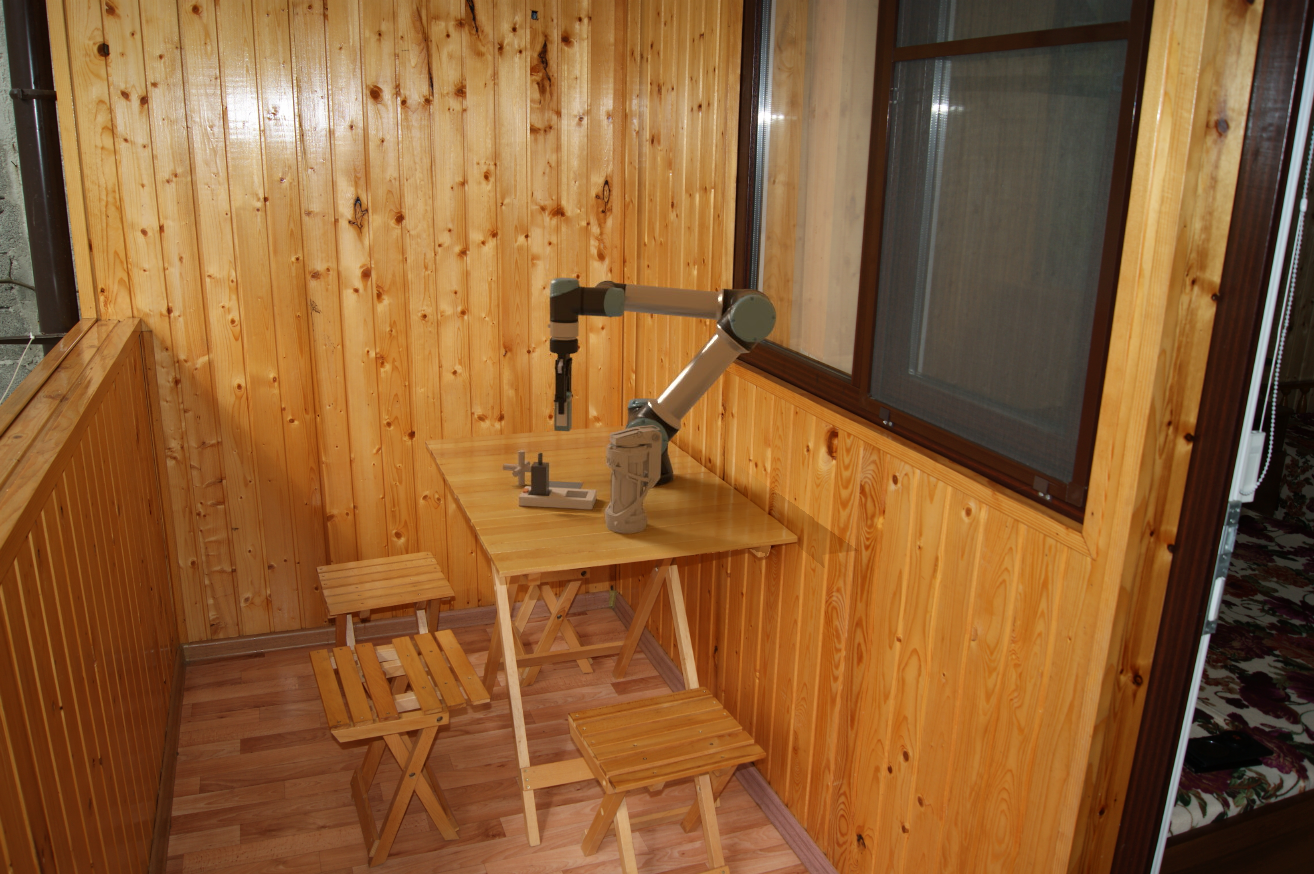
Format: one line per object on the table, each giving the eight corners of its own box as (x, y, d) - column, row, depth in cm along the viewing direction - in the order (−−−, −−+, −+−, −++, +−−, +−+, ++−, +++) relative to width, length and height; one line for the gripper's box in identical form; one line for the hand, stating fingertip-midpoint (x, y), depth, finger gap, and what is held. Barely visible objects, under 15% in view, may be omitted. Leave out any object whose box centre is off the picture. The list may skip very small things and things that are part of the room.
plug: (571, 427, 281) (572, 391, 279) (569, 431, 277) (569, 395, 275) (556, 426, 282) (557, 391, 279) (554, 430, 278) (554, 394, 275)
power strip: (596, 500, 275) (596, 488, 274) (591, 511, 267) (592, 498, 266) (525, 496, 277) (525, 484, 276) (518, 507, 268) (518, 494, 267)
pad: (583, 484, 289) (583, 482, 289) (577, 495, 279) (577, 493, 279) (547, 482, 289) (547, 480, 289) (541, 493, 280) (541, 491, 280)
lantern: (612, 535, 250) (614, 435, 244) (599, 521, 260) (601, 424, 253) (662, 530, 255) (666, 432, 248) (648, 517, 264) (651, 421, 258)
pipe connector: (533, 493, 280) (533, 457, 277) (498, 489, 282) (497, 454, 279) (544, 482, 289) (544, 447, 287) (510, 479, 291) (510, 444, 289)
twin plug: (548, 498, 274) (549, 451, 270) (546, 503, 270) (546, 455, 266) (533, 498, 274) (534, 450, 270) (531, 502, 270) (531, 454, 267)
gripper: (555, 331, 282) (555, 415, 288) (543, 342, 265) (543, 430, 271) (583, 333, 281) (581, 416, 287) (572, 343, 265) (571, 432, 271)
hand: (563, 423), depth 279 cm, fingers closed on plug, 4 cm apart
